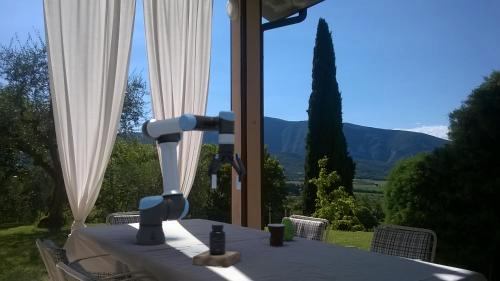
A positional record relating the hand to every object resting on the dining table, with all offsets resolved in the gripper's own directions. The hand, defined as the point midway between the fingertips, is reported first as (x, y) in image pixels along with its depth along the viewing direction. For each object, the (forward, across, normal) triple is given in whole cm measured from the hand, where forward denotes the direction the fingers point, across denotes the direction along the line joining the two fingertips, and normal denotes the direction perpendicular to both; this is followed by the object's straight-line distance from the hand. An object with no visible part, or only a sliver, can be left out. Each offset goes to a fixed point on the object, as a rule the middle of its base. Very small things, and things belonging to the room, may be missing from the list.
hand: (226, 188), depth 204 cm
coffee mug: (+29, -14, -27) cm, 42 cm away
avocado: (+29, -13, -41) cm, 52 cm away
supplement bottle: (+26, -10, +22) cm, 35 cm away
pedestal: (+29, -10, +22) cm, 37 cm away
